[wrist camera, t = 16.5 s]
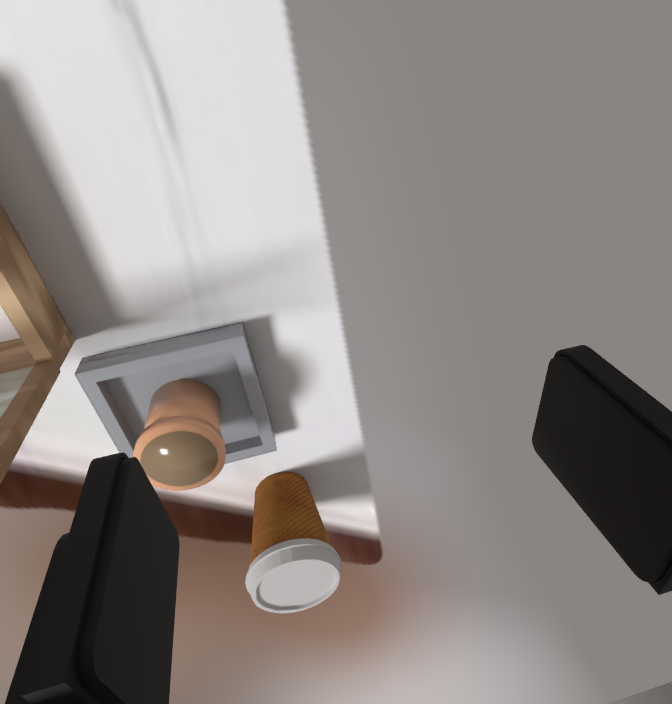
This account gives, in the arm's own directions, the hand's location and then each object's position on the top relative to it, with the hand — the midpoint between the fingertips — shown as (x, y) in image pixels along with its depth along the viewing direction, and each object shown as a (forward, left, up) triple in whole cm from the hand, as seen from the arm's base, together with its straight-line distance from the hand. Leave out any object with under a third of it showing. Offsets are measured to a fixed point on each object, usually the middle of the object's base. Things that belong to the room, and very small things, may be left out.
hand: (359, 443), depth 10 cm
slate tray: (+18, -11, -29) cm, 36 cm away
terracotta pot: (+18, -11, -28) cm, 35 cm away
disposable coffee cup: (+34, -5, -29) cm, 45 cm away
